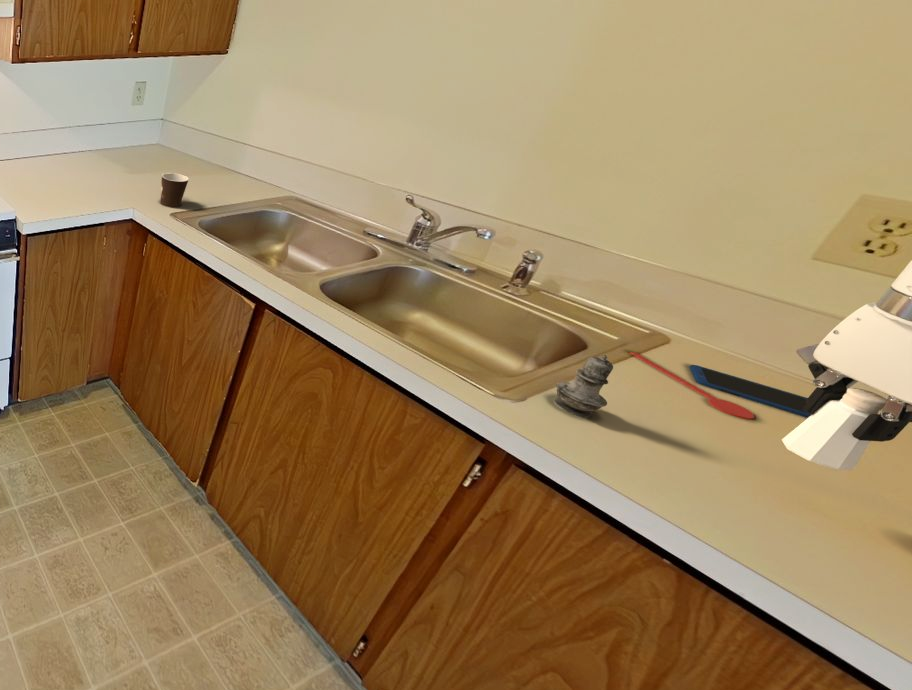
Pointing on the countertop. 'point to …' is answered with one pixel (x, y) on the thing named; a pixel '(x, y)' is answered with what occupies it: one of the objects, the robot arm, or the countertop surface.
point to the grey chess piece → (585, 388)
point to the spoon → (706, 394)
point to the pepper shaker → (835, 430)
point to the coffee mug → (173, 189)
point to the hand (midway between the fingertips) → (842, 424)
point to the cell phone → (750, 390)
